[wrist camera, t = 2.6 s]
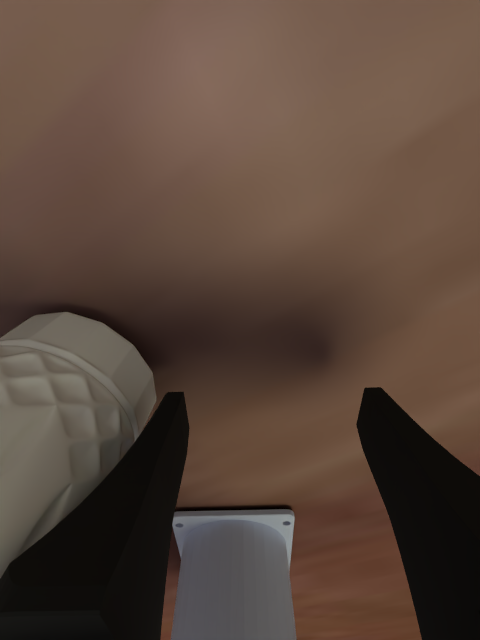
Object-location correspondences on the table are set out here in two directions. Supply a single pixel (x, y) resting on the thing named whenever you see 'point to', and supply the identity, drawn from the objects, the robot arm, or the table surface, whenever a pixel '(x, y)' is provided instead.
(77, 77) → the table surface
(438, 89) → the table surface
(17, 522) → the white cup
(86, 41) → the table surface
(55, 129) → the table surface
